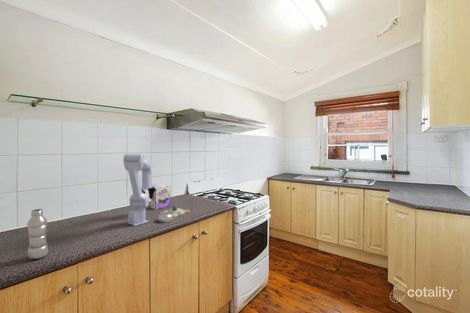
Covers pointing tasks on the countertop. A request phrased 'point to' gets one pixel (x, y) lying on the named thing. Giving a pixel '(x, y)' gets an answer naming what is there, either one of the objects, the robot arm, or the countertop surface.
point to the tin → (165, 217)
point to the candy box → (161, 197)
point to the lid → (174, 210)
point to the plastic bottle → (37, 235)
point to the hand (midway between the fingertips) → (146, 199)
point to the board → (177, 213)
